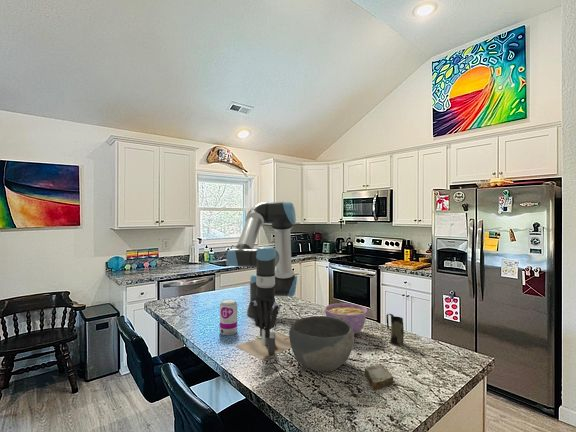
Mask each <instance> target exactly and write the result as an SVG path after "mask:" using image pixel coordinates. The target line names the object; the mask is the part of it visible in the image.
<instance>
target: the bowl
mask: <svg viewBox="0 0 576 432" xmlns="http://www.w3.org/2000/svg"><path fill="white" fill-rule="evenodd" d="M288 336H289V338H290V344H291V347H292V348H291V350H292V353H293V354H294V357H295V358H296V360H297V361H298V362H299V363H300V364H301V365H303V366H304V367H305V368H308V369H309V370H312V371H316V372H322V373H326V372H327V373H328V372H333V371H335V370H337V369H338V368H340V367H341V366H342V365H344V364H345V363H346V362H347V361H348V360H349V357H350V355H351V354H352V350H353V347H354V343H355V334H354V331H353V329H352V327H351V326H350V325H349V324H348V323H347V322H345V321H343V320H340V319H336V318H332V317H326V315H325V316H324V315H320V316H319V315H315V316H307V317H302V318H299V319H297V320H296V321H294V322H293V323H291V325H290V328H289V333H288Z"/></svg>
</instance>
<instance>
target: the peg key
mask: <svg viewBox="0 0 576 432" xmlns="http://www.w3.org/2000/svg"><path fill="white" fill-rule="evenodd" d="M275 333H276V332H275V331H270V336H269V337H268V345H267V346H268V354H273V353H274V345H275Z"/></svg>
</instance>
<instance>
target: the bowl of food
mask: <svg viewBox="0 0 576 432" xmlns="http://www.w3.org/2000/svg"><path fill="white" fill-rule="evenodd" d="M324 311H325V316H326V317H332V318H336V319H340V320H343V321H345V322H347V323H348V324H349V325H350V326H351V327H352V329H353V331H354V335H355V334H358V333H360V332H361V331H362V330H363V329H364V326H365V325H364V324H365V323H366V317H367V313H368V308H366V307H364V306H362V305H359V304H353V303H344V302H342V303H341V302H339V303H332V304H328V305H326V306H325V307H324Z"/></svg>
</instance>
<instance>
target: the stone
mask: <svg viewBox="0 0 576 432" xmlns="http://www.w3.org/2000/svg"><path fill="white" fill-rule="evenodd" d="M363 372H364V376H365V379H366V380H367V382H368V384H369V386H370V388H371V389H372V390H373V391H375V392H376V391H379V390H382V389H384V388H388V387H390V386H393V385H394V377H393V374H392V373H391V372H390V371H388V369H386V368H385V367H384V366H383V365H382V364H381V363H380V364H379V363H378V364H374V365H370V366H366V367H364V371H363Z"/></svg>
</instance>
